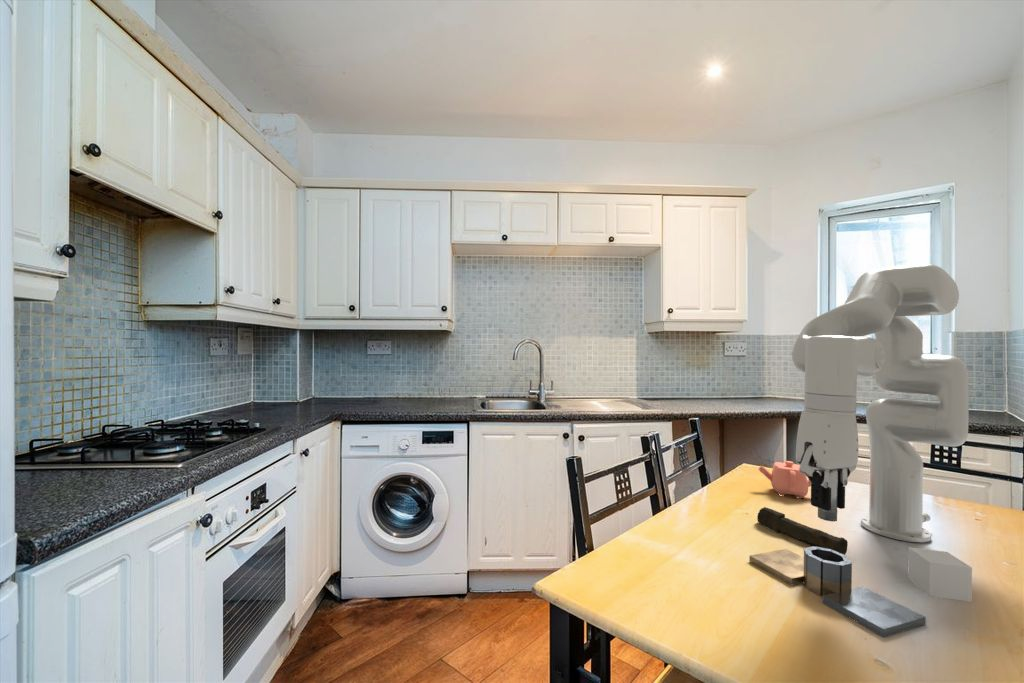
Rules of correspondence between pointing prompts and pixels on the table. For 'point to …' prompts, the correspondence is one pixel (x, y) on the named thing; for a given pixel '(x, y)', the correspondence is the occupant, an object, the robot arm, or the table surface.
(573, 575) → the table surface
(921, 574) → the light grey cube
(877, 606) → the hinge
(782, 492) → the teapot
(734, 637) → the table surface
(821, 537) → the hand tool
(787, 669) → the table surface
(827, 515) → the hinge pin
